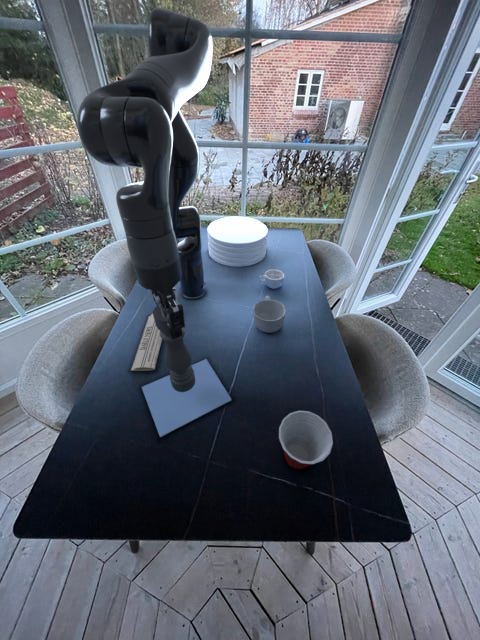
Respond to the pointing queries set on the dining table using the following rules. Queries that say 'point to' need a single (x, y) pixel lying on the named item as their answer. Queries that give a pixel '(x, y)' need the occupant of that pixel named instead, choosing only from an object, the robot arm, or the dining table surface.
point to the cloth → (184, 399)
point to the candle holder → (175, 355)
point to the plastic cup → (304, 439)
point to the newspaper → (148, 347)
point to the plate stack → (237, 241)
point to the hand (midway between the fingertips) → (171, 326)
